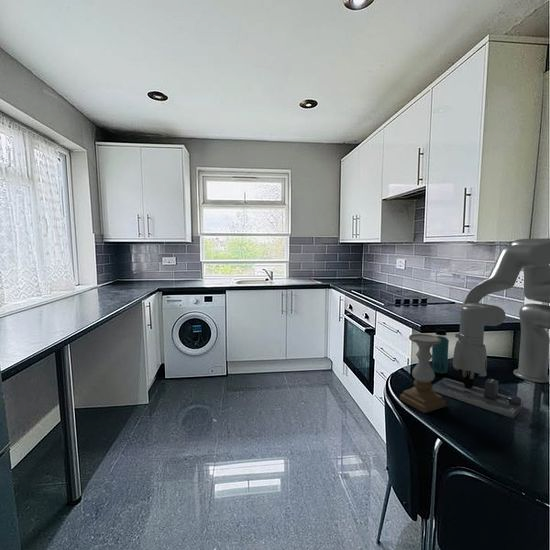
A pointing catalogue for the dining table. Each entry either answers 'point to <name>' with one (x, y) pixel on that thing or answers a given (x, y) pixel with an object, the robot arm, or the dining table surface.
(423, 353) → the candle holder
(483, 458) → the dining table surface
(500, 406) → the console
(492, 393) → the fader tab
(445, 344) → the beverage bottle
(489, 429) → the dining table surface
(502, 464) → the dining table surface
